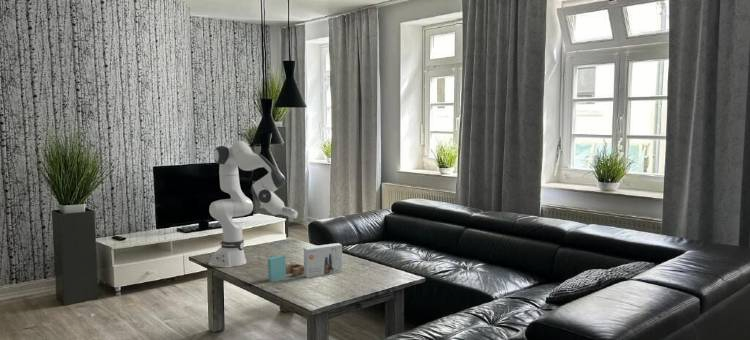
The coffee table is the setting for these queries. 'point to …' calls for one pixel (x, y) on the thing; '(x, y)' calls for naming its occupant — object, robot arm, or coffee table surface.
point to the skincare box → (322, 260)
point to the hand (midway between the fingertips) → (284, 214)
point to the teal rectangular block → (276, 268)
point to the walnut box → (295, 269)
